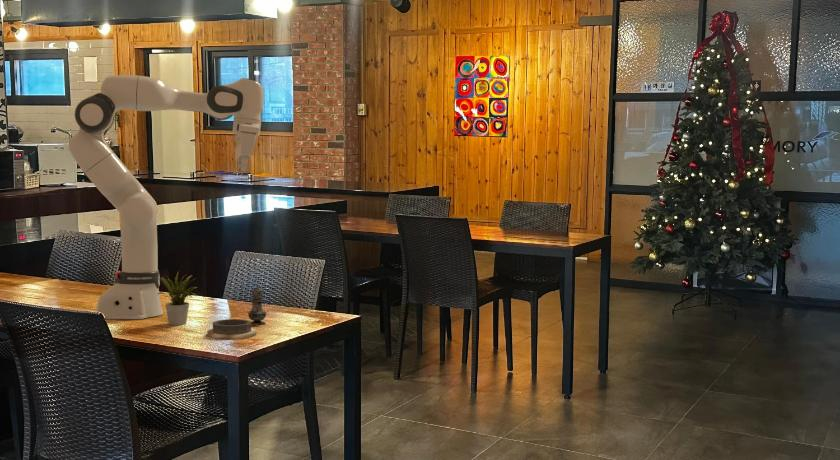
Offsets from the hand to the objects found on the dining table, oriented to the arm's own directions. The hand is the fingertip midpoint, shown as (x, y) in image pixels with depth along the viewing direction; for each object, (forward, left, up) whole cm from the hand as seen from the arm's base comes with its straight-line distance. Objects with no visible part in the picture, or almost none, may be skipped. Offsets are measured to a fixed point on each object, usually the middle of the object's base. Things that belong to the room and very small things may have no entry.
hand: (242, 171), depth 303 cm
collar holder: (-4, -36, -46) cm, 59 cm away
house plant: (-21, -17, -47) cm, 54 cm away
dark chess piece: (+4, -20, -47) cm, 51 cm away
